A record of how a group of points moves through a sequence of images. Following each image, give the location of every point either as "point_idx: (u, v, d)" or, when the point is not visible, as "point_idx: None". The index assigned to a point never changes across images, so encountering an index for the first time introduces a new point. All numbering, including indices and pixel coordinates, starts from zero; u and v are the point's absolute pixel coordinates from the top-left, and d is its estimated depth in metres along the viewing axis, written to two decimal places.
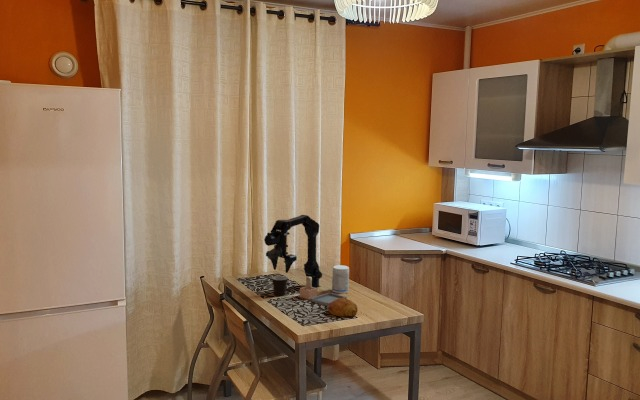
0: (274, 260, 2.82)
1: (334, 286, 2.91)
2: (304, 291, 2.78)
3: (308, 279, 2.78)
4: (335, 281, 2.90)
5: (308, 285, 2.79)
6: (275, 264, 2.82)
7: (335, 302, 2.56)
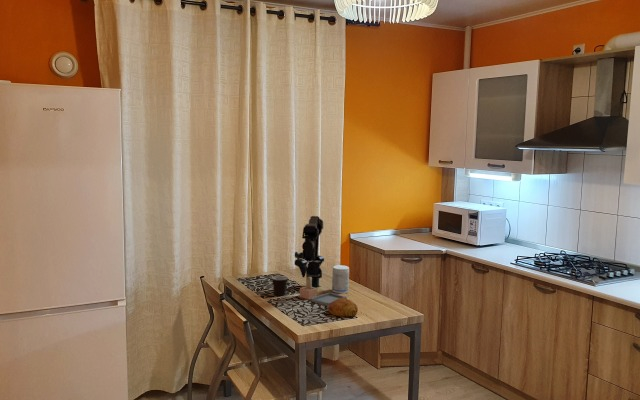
0: (314, 265, 2.83)
1: (334, 286, 2.91)
2: (304, 291, 2.78)
3: (308, 279, 2.78)
4: (335, 281, 2.90)
5: (308, 285, 2.79)
6: (315, 269, 2.82)
7: (335, 302, 2.56)
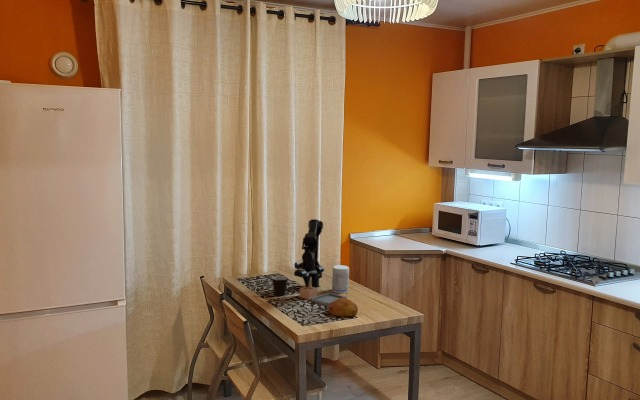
0: (311, 276, 2.81)
1: (334, 286, 2.91)
2: (304, 291, 2.78)
3: None
4: (335, 281, 2.90)
5: (308, 285, 2.79)
6: None
7: (335, 302, 2.56)
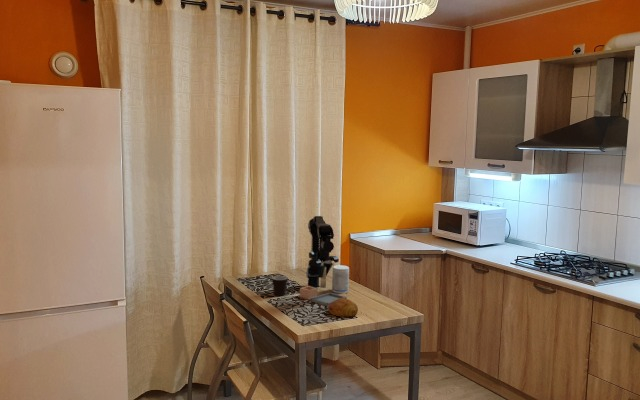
0: (325, 266, 2.76)
1: (334, 286, 2.91)
2: (304, 291, 2.78)
3: None
4: (335, 281, 2.90)
5: (323, 275, 2.74)
6: (326, 271, 2.76)
7: (335, 302, 2.56)
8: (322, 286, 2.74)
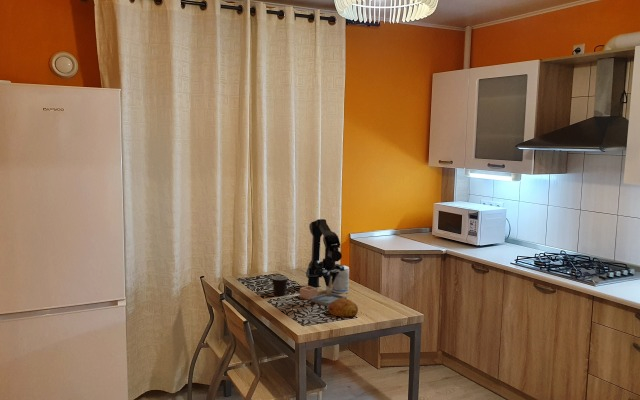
0: (331, 275, 2.75)
1: (334, 286, 2.91)
2: (304, 291, 2.78)
3: None
4: (335, 281, 2.90)
5: None
6: None
7: (335, 302, 2.56)
8: (328, 295, 2.74)
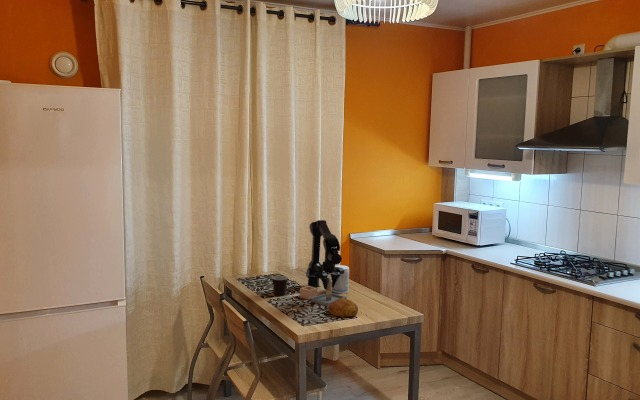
0: (333, 277, 2.77)
1: (334, 286, 2.91)
2: (304, 291, 2.78)
3: (328, 282, 2.73)
4: None
5: (328, 288, 2.73)
6: (333, 282, 2.76)
7: (335, 302, 2.56)
8: (328, 299, 2.74)
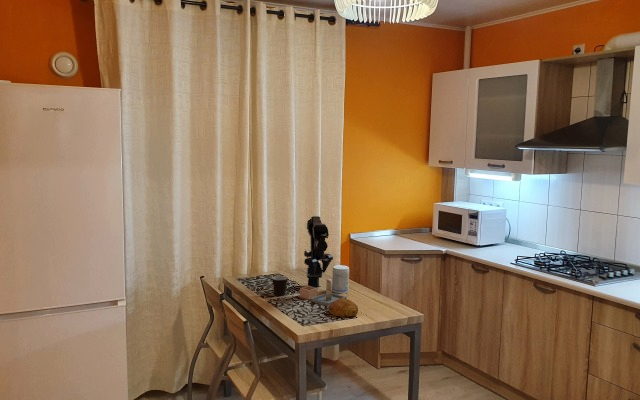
0: (324, 263, 2.86)
1: (334, 286, 2.91)
2: (304, 291, 2.78)
3: (328, 282, 2.73)
4: (335, 281, 2.90)
5: (328, 288, 2.73)
6: (324, 267, 2.86)
7: (336, 302, 2.56)
8: (328, 299, 2.74)
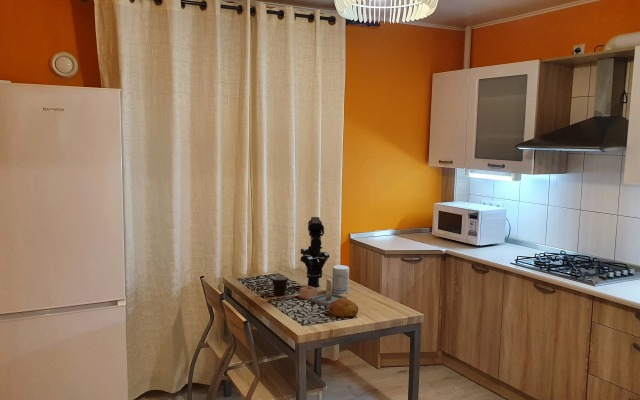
0: (320, 261, 2.89)
1: (334, 286, 2.91)
2: (304, 291, 2.78)
3: (328, 282, 2.73)
4: (335, 281, 2.90)
5: (328, 288, 2.73)
6: (320, 265, 2.89)
7: (336, 302, 2.56)
8: (328, 299, 2.74)
